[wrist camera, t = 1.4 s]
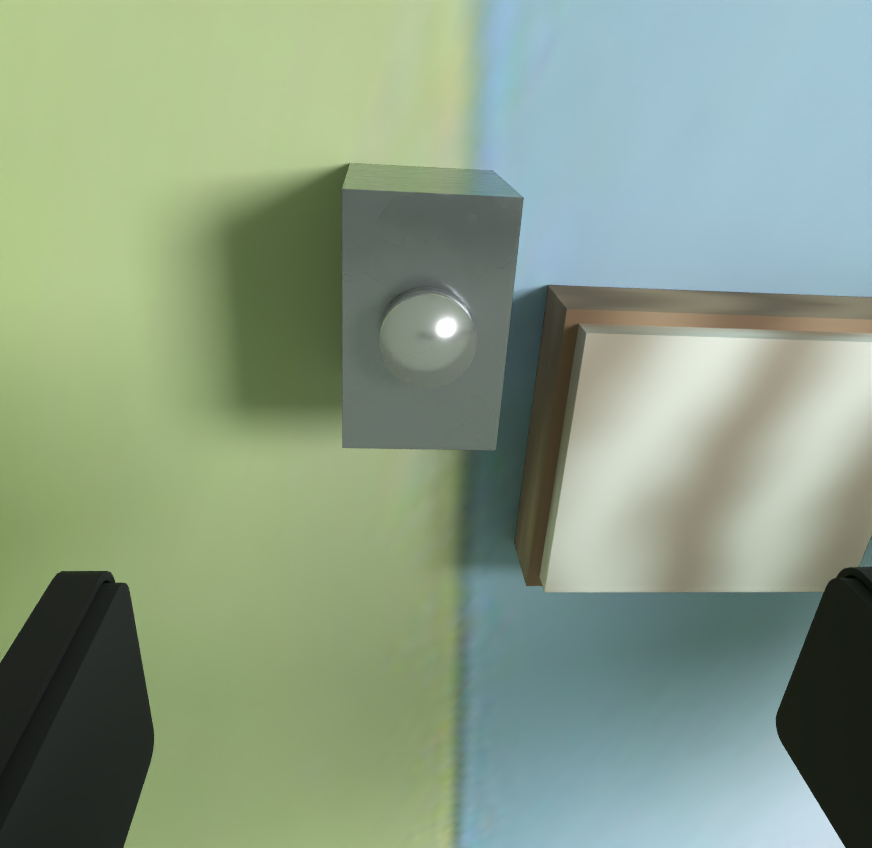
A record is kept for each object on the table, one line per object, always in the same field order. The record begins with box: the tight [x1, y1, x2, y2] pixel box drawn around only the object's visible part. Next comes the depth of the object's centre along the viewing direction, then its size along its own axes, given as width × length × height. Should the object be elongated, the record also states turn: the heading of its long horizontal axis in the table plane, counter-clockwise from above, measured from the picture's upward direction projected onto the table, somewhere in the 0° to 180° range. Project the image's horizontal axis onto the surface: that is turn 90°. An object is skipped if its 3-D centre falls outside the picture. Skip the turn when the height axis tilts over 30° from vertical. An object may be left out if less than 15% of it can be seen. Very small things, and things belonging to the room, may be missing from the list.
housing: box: [342, 163, 524, 450], centre depth 23 cm, size 5×8×7 cm, turn 177°
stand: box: [514, 285, 872, 592], centre depth 28 cm, size 14×12×4 cm
